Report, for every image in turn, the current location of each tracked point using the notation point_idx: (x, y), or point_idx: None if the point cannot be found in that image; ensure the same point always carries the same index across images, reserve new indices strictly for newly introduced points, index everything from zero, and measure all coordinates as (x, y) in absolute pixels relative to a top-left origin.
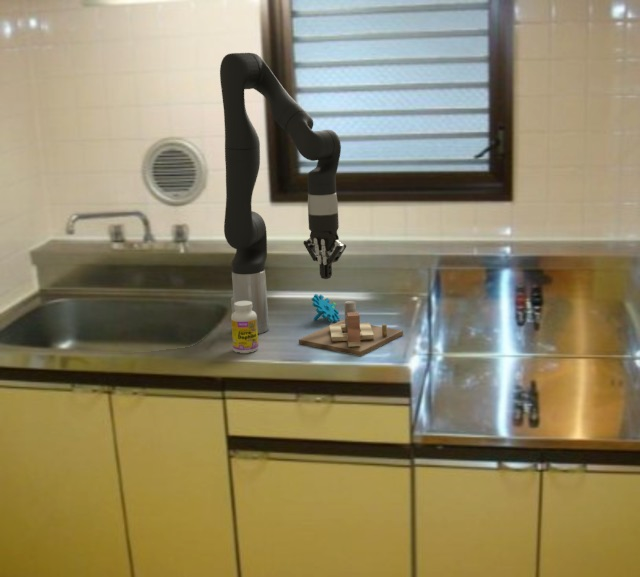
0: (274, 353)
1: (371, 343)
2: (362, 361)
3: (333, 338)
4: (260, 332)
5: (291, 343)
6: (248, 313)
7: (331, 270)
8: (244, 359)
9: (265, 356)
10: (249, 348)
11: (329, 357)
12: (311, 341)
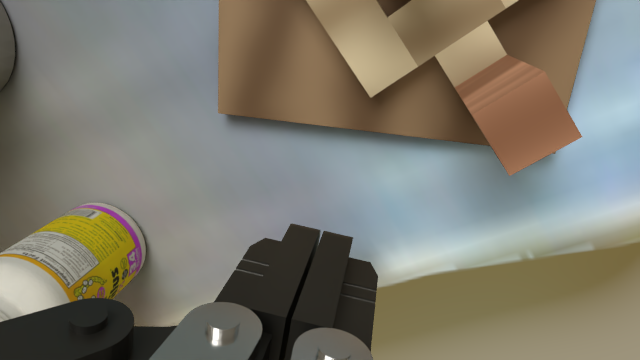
0: (214, 235)
1: (561, 26)
2: (579, 200)
3: (377, 92)
4: (11, 63)
5: (196, 115)
6: None
7: (374, 306)
8: (168, 314)
9: (207, 271)
10: (134, 275)
11: (426, 204)
12: (281, 115)
